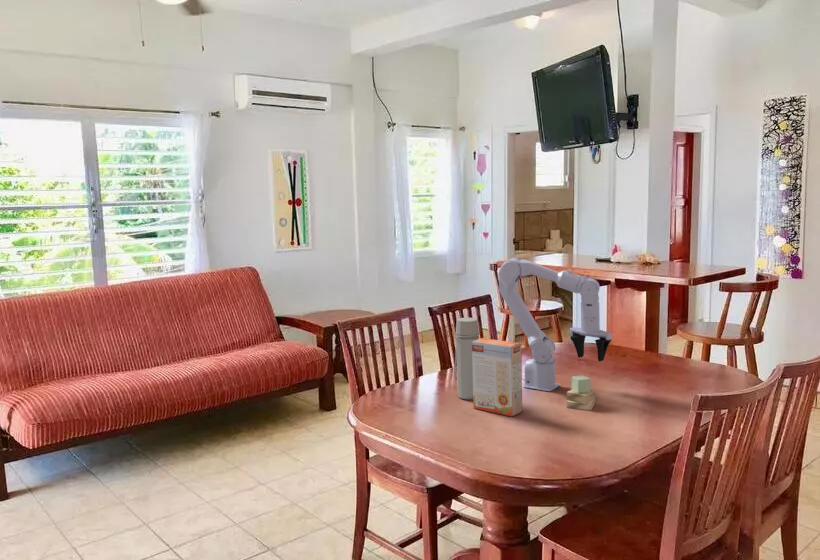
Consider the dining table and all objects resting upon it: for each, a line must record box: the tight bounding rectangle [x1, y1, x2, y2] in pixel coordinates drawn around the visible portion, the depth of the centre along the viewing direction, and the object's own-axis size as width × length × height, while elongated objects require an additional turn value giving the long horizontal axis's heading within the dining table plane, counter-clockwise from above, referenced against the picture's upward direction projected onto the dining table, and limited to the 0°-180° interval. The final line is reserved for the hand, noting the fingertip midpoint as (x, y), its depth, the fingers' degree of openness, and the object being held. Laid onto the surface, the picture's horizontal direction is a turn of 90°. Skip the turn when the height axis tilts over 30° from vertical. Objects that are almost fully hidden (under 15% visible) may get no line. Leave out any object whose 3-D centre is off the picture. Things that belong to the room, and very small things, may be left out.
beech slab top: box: [566, 389, 596, 404], centre depth 201 cm, size 6×6×2 cm
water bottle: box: [453, 317, 480, 401], centre depth 212 cm, size 9×8×25 cm
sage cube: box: [571, 375, 591, 393], centre depth 201 cm, size 4×4×4 cm
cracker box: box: [472, 337, 523, 417], centre depth 198 cm, size 14×6×21 cm, turn 48°
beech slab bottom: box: [566, 398, 596, 411], centre depth 201 cm, size 7×7×2 cm
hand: (590, 358), depth 214 cm, fingers open, 7 cm apart
